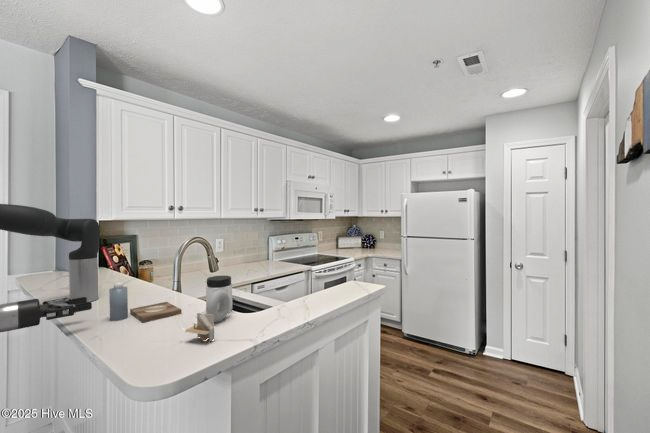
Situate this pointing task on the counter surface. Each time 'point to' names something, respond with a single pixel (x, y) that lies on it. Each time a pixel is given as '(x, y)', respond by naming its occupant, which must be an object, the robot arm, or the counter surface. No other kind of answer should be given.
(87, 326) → the counter surface
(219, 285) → the jar
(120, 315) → the bottle
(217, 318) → the donut
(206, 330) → the architectural model
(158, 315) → the walnut board
